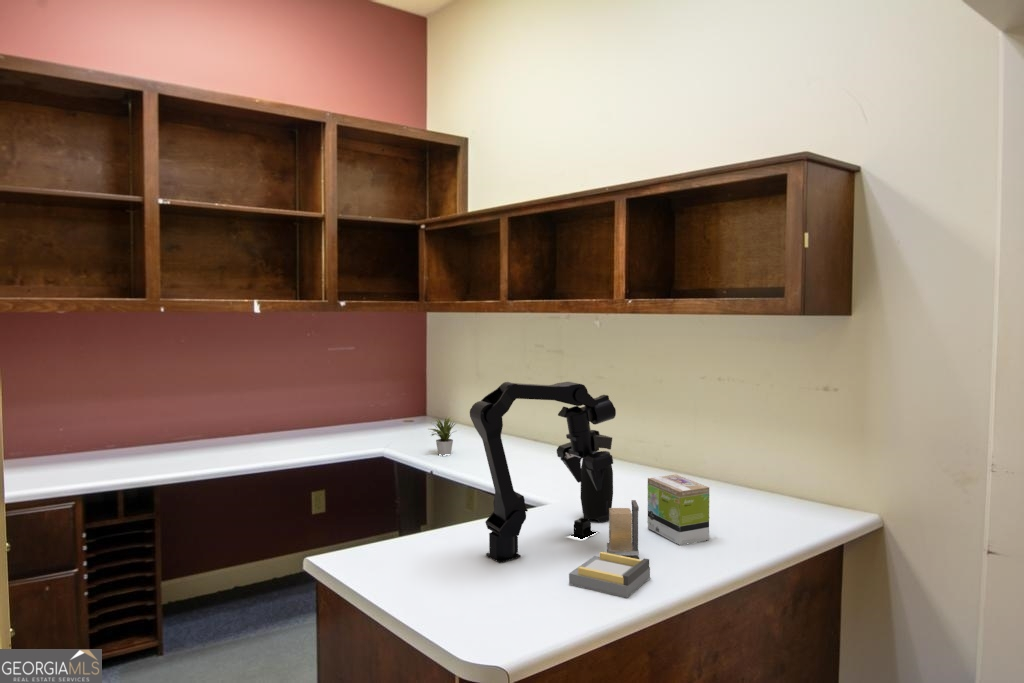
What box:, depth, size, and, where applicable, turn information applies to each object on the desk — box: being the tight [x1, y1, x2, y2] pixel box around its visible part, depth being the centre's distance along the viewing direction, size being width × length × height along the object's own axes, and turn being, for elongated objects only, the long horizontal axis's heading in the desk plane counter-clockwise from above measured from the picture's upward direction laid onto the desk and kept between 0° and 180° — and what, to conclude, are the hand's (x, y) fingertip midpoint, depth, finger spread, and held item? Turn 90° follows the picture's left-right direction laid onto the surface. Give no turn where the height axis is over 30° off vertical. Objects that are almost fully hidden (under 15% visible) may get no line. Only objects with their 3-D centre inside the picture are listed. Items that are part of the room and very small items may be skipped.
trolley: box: [606, 499, 640, 559], centre depth 173 cm, size 7×6×14 cm
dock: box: [568, 551, 651, 599], centre depth 159 cm, size 14×13×4 cm
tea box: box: [647, 474, 710, 546], centre depth 190 cm, size 15×10×15 cm, turn 23°
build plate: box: [571, 517, 597, 539], centre depth 191 cm, size 12×7×5 cm, turn 141°
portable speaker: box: [580, 450, 614, 523], centre depth 205 cm, size 9×9×20 cm
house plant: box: [428, 416, 457, 455], centre depth 295 cm, size 14×14×16 cm
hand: (589, 486), depth 185 cm, fingers open, 9 cm apart
